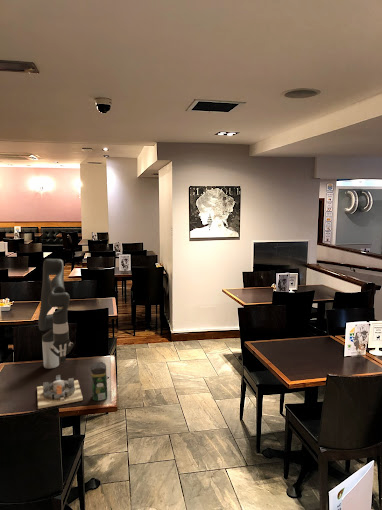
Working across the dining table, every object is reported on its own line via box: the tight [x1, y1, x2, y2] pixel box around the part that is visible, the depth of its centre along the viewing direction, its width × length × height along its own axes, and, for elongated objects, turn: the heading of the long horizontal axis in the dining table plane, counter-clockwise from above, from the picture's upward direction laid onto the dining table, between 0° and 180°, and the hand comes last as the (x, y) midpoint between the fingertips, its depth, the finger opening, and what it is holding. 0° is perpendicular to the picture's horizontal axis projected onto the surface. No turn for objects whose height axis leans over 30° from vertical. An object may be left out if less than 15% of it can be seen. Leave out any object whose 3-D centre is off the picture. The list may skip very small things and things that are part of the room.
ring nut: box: [42, 374, 75, 400], centre depth 217 cm, size 16×16×6 cm
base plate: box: [36, 379, 84, 410], centre depth 218 cm, size 22×22×7 cm
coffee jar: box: [90, 361, 108, 402], centre depth 214 cm, size 10×8×19 cm
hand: (62, 362), depth 210 cm, fingers closed
